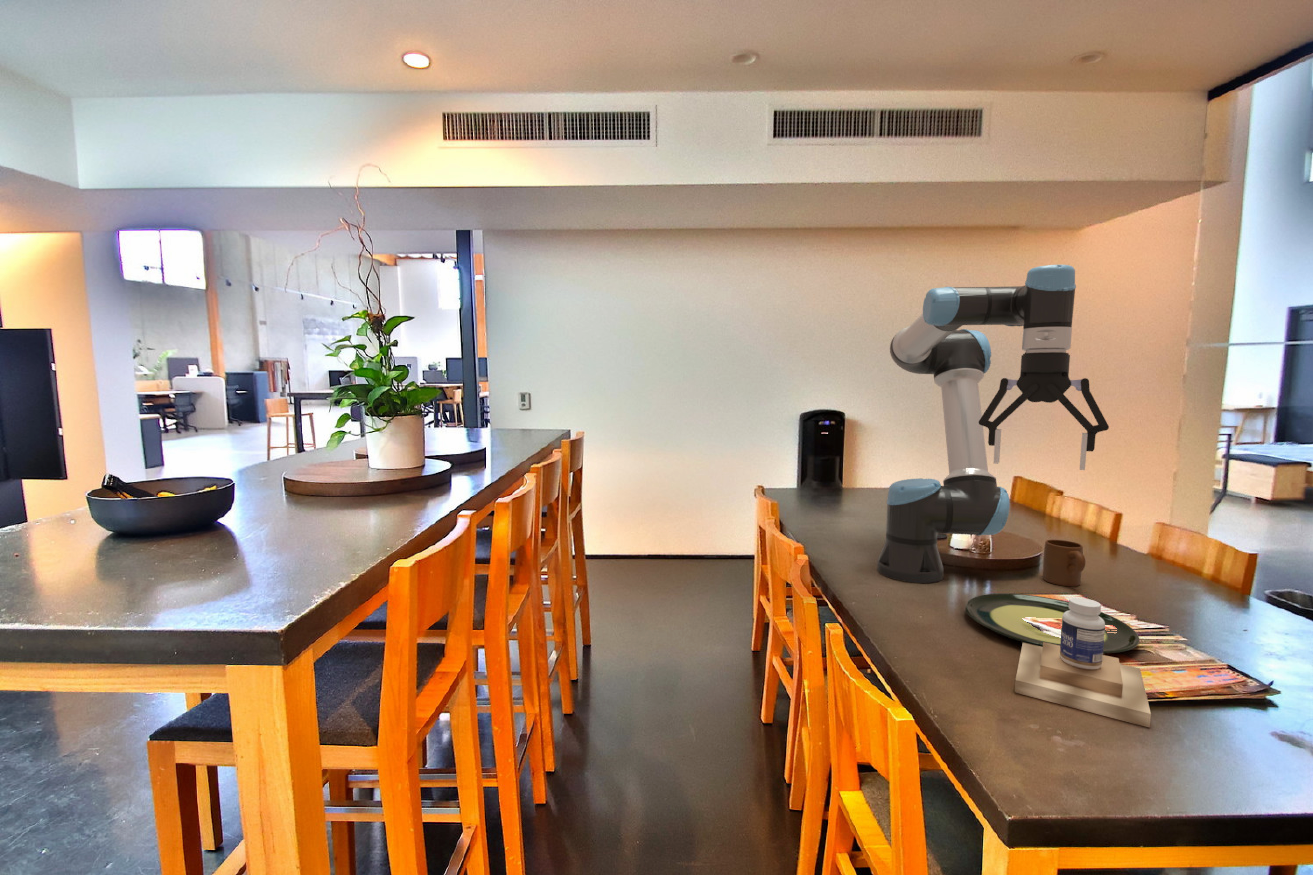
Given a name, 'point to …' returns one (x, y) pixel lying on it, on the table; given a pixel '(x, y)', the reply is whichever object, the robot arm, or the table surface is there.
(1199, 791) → the table surface
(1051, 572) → the mug
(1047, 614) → the plate
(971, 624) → the table surface
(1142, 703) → the base
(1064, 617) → the pill bottle
